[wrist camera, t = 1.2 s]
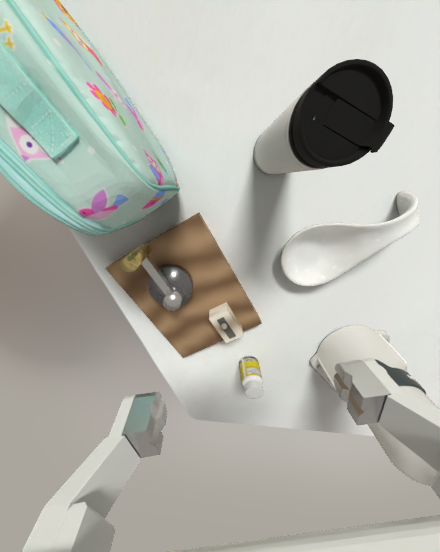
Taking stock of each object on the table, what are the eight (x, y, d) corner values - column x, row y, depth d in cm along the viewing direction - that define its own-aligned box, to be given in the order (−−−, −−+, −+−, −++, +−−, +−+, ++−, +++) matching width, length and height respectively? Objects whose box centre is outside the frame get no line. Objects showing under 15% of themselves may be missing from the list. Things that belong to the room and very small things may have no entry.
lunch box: (1, 47, 26) (-606, -334, 7) (53, -20, 24) (-643, -879, 5) (145, 221, 36) (63, 268, 17) (191, 185, 34) (158, 191, 14)
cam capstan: (201, 290, 40) (197, 314, 32) (167, 307, 41) (156, 334, 34) (161, 231, 34) (146, 245, 27) (124, 253, 36) (101, 271, 29)
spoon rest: (290, 288, 43) (303, 307, 36) (266, 241, 38) (276, 253, 32) (407, 229, 38) (447, 239, 31) (395, 168, 33) (439, 165, 27)
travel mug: (281, 182, 34) (358, 184, 16) (246, 163, 32) (285, 141, 14) (303, 141, 31) (423, 88, 13) (266, 119, 30) (343, 26, 12)
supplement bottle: (247, 370, 52) (253, 403, 45) (235, 361, 51) (238, 393, 43) (261, 361, 51) (269, 392, 44) (249, 351, 50) (255, 382, 42)
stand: (259, 317, 45) (266, 338, 39) (184, 351, 49) (180, 374, 43) (199, 212, 35) (195, 218, 30) (110, 264, 39) (92, 279, 33)
